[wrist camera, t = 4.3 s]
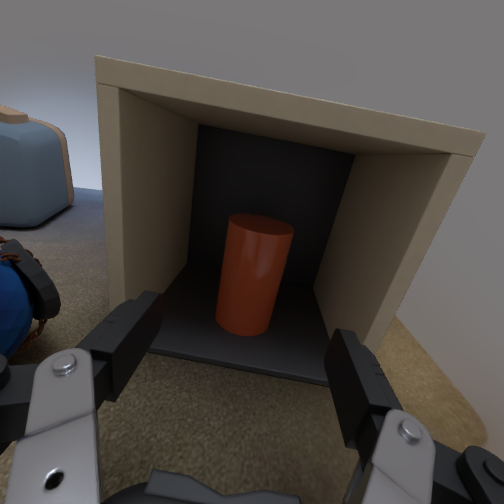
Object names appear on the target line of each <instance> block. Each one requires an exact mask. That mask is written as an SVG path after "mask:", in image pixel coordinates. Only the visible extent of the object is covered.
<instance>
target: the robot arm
mask: <svg viewBox="0 0 504 504" xmlns="http://www.w3.org/2000/svg"><path fill="white" fill-rule="evenodd" d="M162 309H163V294H162V293H157V292H152V291H147V290H145V291H143V292H142V293H141V294H140V296H139V297H138V298H137V299H136V300H133V299H129V300H127V301H125V302H123V303H121V304H119V305H118V306H117V307H116V308H115V309H114V310H113V311H112V312H111V313H110V315H108V316H107V317H106V318H105V319H104V320H103V321H102V322H101V323H99V324H98V325H97V326H96V327H95V328H94V329H93V330H92V331H91V332H90V333H89V334H88V335H87V336H86V337H85V338H84V339H83V340H82V341H81V342H80V343H79V344H78V345H77V346H76V347H75V348H71V349H66V350H62V351H59V352H57V353H55V354H53V355H51V356H49V357H48V358H46V359H45V360H44V361H43V362H42V363H37V364H24V365H12V366H9V365H8V362H7V359H6V357H5V356H4V355H2V354H0V455H1V454H2V453H3V452H4V451H5V450H6V448H7V447H8V446H9V445H10V444H11V442H12V441H16V440H18V441H17V443H16V446H15V450H14V454H13V460H12V465H11V470H10V476H9V481H8V486H7V491H6V497H5V502H4V504H301V500H300V496H295V495H290V494H284V493H279V492H274V491H269V490H259V491H253V492H247V493H241V494H235V495H227V496H226V495H222V494H220V493H219V492H217V491H215V490H213V489H212V488H210V487H208V486H206V485H205V484H203V483H201V482H200V481H198V480H196V479H194V478H193V477H191V476H189V475H184V474H179V473H174V472H168V471H163V470H158V469H152V472H151V475H150V477H149V480H148V482H143V483H139V484H136V485H132V486H130V487H128V488H125V489H123V490H121V491H119V492H117V493H116V494H114V495H112V496H110V497H109V498H107V499H106V500H105V501H104V496H103V483H102V471H101V458H100V443H99V429H98V414H97V410H98V409H99V407H100V406H101V404H102V403H103V402H104V400H106V401H111V402H116V400H117V398H118V397H119V395H120V394H121V392H122V390H123V389H124V387H125V386H126V384H127V383H128V381H129V379H130V378H131V376H132V375H133V373H134V371H135V370H136V368H137V367H138V365H139V363H140V362H141V360H142V359H143V357H144V355H145V354H146V352H147V351H148V349H149V347H150V346H151V344H152V343H153V341H154V339H155V338H156V336H157V335H158V333H159V330H160V327H161V324H162ZM324 367H325V371H326V375H327V378H328V382H329V386H330V390H331V394H332V397H333V401H334V405H335V409H336V413H337V416H338V420H339V424H340V428H341V432H342V435H343V439H344V443H345V447H346V448H351V449H356V450H358V453H359V456H360V458H359V460H358V462H357V464H356V467H355V469H354V472H353V475H352V477H351V480H350V482H349V485H348V488H347V490H346V493H345V496H344V498H343V501H342V503H341V504H504V462H503V461H502V460H501V459H499V458H498V457H497V456H495V455H494V454H492V453H490V452H489V451H487V450H485V449H483V448H481V447H478V446H469V447H467V448H466V449H465V450H464V452H463V453H462V454H461V453H459V452H457V451H455V450H453V449H451V448H449V447H447V446H445V445H443V444H441V443H439V442H437V441H435V440H433V438H432V436H431V434H430V433H429V431H428V430H427V429H426V428H425V426H424V425H423V424H422V423H421V422H420V421H418V420H417V419H416V418H415V417H413V416H412V415H410V414H408V413H406V412H404V410H403V408H402V406H401V404H400V403H399V401H398V399H397V397H396V395H395V393H394V391H393V389H392V387H391V386H390V384H389V382H388V380H387V378H386V377H385V374H384V372H383V370H382V369H381V368H380V365H379V363H378V361H377V359H376V357H375V355H374V354H373V353H372V352H371V351H370V350H369V349H368V348H367V347H366V346H365V345H362V344H361V343H360V341H359V339H358V337H357V335H356V333H355V332H354V331H350V330H345V329H340V328H336V329H335V330H334V332H333V335H332V337H331V340H330V342H329V345H328V347H327V350H326V353H325V357H324Z"/></svg>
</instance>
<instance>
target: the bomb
mask: <svg viewBox="0 0 504 504" xmlns="http://www.w3.org/2000/svg"><path fill="white" fill-rule="evenodd" d="M2 243H5V244H3V245H1V246H0V247H1V249H2V250H3V251H4V252H3V251H2V250H0V354H2V355H4V356H5V357H6V359H7V360H8V359H9V358H10V357H11V356H12V355H13V354H14V353H15V351H16V350H17V352H18V353H20V352H22V351H24V350H25V349H26V348H27V347H28V346H29V345H30V344H32V343H33V342H34V340H35V339H37V338H38V337H39V336H40V334H41V332H42V330H43V328H44V325H45V323H46V322H47V319H50V318H54V317H55V316H56V315H58V313H59V310H60V306H61V302H60V297H59V293H58V291H57V289H56V287H55V285H54V283H53V281H52V280H51V279H50V277H49V276H48V274H47V273H46V272H45V270H44V269H43V268H42V265H41V264H40V262H39V260H38V259H36V258H33V254H32V253H31V251H29V250H27V249H24V248H23V247H22V245H21V244H20V243H19V242H18V241H17V240H15V239H12V240H5V239H4V238H3V237H1V236H0V244H2ZM33 318H34V319H36V320H39V327H38V328H37V329H35V330H34V331H33V332H32V333H31V335H30V336H28V337H27V338H26V340H25V341H24V343H23V344H22V345H21V343H22V342H23V340H24V338H25V336H26V335H27V333H28V331H29V329H30V327H31V323H32V319H33ZM42 320H44V321H42ZM36 331H37V333H38V335H36V334H34V333H35V332H36ZM29 339H30V340H31V342H30V340H29ZM20 345H21V346H20ZM23 346H25V347H24V348H23V349H21V348H22V347H23Z"/></svg>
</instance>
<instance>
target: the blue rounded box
mask: <svg viewBox="0 0 504 504" xmlns="http://www.w3.org/2000/svg"><path fill="white" fill-rule="evenodd" d="M73 200H74V190H73V184H72V176H71V169H70V163H69V155H68V148H67V140H66V137H65V134H64V133H63V132H62V131H61V130H60V129H59V128H58V127H56V126H54V125H52V124H50V123H47V122H43V121H40V120H37V119H33V118H29V117H28V115H27V114H25V113H23V112H20V111H17V110H15V109H12V108H9V107H6V106H2V105H0V226H8V227H23V228H24V227H33V226H37V225H39V224H40V223H42V222H43V221H45V220H47V219H48V218H50V217H51V216H53V215H54V214H56V213H58V212H59V211H61V210H62V209H64V208H65V207H67V206H69V205H70V204H71V203H72V202H73Z"/></svg>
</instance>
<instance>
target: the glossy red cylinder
mask: <svg viewBox="0 0 504 504" xmlns="http://www.w3.org/2000/svg"><path fill="white" fill-rule="evenodd" d="M294 232H295V230H294V228H293V227H292V226H291V225H289V224H287V223H285V222H283V221H281V220H278V219H275V218H271V217H267V216H263V215H257V214H247V213H240V214H233V215H231V216H229V218H228V225H227V232H226V238H225V245H224V252H223V259H222V266H221V273H220V279H219V286H218V293H217V300H216V307H215V319H216V321H217V323H218V324H219V325H220V326H221V327H222V328H223V329H225V330H226V331H228V332H230V333H232V334H235V335H239V336H256V335H259V334H262V333H263V332H265V331H266V330H267V329H268V328H269V326H270V324H271V320H272V316H273V312H274V308H275V304H276V301H277V297H278V293H279V289H280V285H281V282H282V278H283V274H284V270H285V266H286V263H287V259H288V255H289V251H290V247H291V244H292V240H293V236H294Z"/></svg>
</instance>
